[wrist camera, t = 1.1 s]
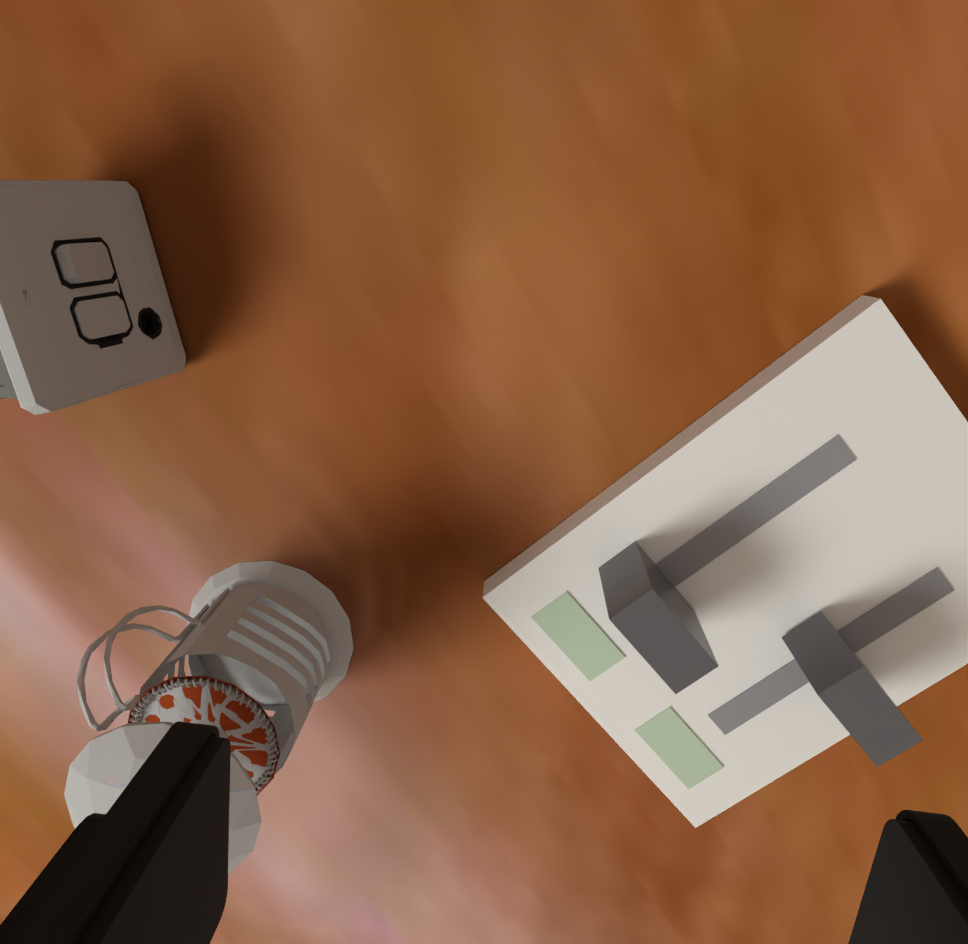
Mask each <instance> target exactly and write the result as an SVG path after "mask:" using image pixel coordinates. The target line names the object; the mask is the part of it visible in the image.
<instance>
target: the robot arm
mask: <svg viewBox="0 0 968 944" xmlns="http://www.w3.org/2000/svg"><path fill="white" fill-rule="evenodd" d="M230 756H231V744H230V740H229V739H228V738H223V737H219V730H218V727H216V726H213V725H205V724H197V723H188V722H180V721H178V722H175V723H174V724H173V725H172V726H171V727H170V729H169V730H168V731H167V733H166V734H165V735H164V737H163V738H162V739H161V741H160V742H159V743H158V745H157V746H156V747H155V749H154V750H153V751H152V753H151V754H150V755H149V757H148V758H147V760H146V761H145V762H144V764H143V765H142V766H141V768H140V769H139V770H138V772H137V773H136V774H135V776H134V777H133V778H132V780H131V781H130V782H129V784H128V785H127V786H126V788H125V789H124V790H123V792H122V793H121V795H120V796H119V797H118V799H117V800H116V801H115V803H114V804H113V805H112V807H111V808H110V809H109V811H108V812H107V813H106V814H99V813H93V814H91V815H89V816H87V817H86V818H85V819H84V820H83V821H82V822H81V823H80V824H79V825H78V826H77V827H76V829H75V830H74V831H73V832H72V834H71V835H70V836H69V838H68V839H67V840H66V841H65V843H64V844H63V845H62V847H61V848H60V849H59V850H58V852H57V853H56V854H55V856H54V857H53V858H52V859H51V861H50V862H49V863H48V865H47V866H46V867H45V868H44V870H43V871H42V872H41V874H40V875H39V876H38V877H37V879H36V880H35V881H34V883H33V884H32V885H31V886H30V888H29V889H28V890H27V892H26V893H25V894H24V895H23V897H22V898H21V899H20V901H19V902H18V903H17V904H16V906H15V907H14V908H13V910H12V911H11V912H10V913H9V915H8V916H7V917H6V919H5V920H4V921H3V922H2V924H1V925H0V944H210V941H211V939H212V937H213V935H214V933H215V930H216V928H217V926H218V924H219V921H220V919H221V916H222V913H223V910H224V907H225V903H226V897H227V889H228V848H229V802H230ZM849 944H968V837H967V836H966V835H965V834H964V832H963V831H962V830H961V828H960V827H959V826H958V825H957V823H956V822H955V821H954V820H953V819H952V818H951V817H949V816H947V815H944V814H937V813H928V812H920V811H912V810H903V811H901V812H900V813H899V814H898V815H897V817H896V819H890V820H888V821H887V822H886V824H885V826H884V828H883V831H882V835H881V838H880V841H879V845H878V848H877V851H876V855H875V858H874V861H873V864H872V868H871V871H870V874H869V878H868V881H867V884H866V888H865V891H864V894H863V897H862V901H861V904H860V907H859V911H858V914H857V917H856V921H855V924H854V927H853V930H852V934H851V937H850V940H849Z"/></svg>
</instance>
